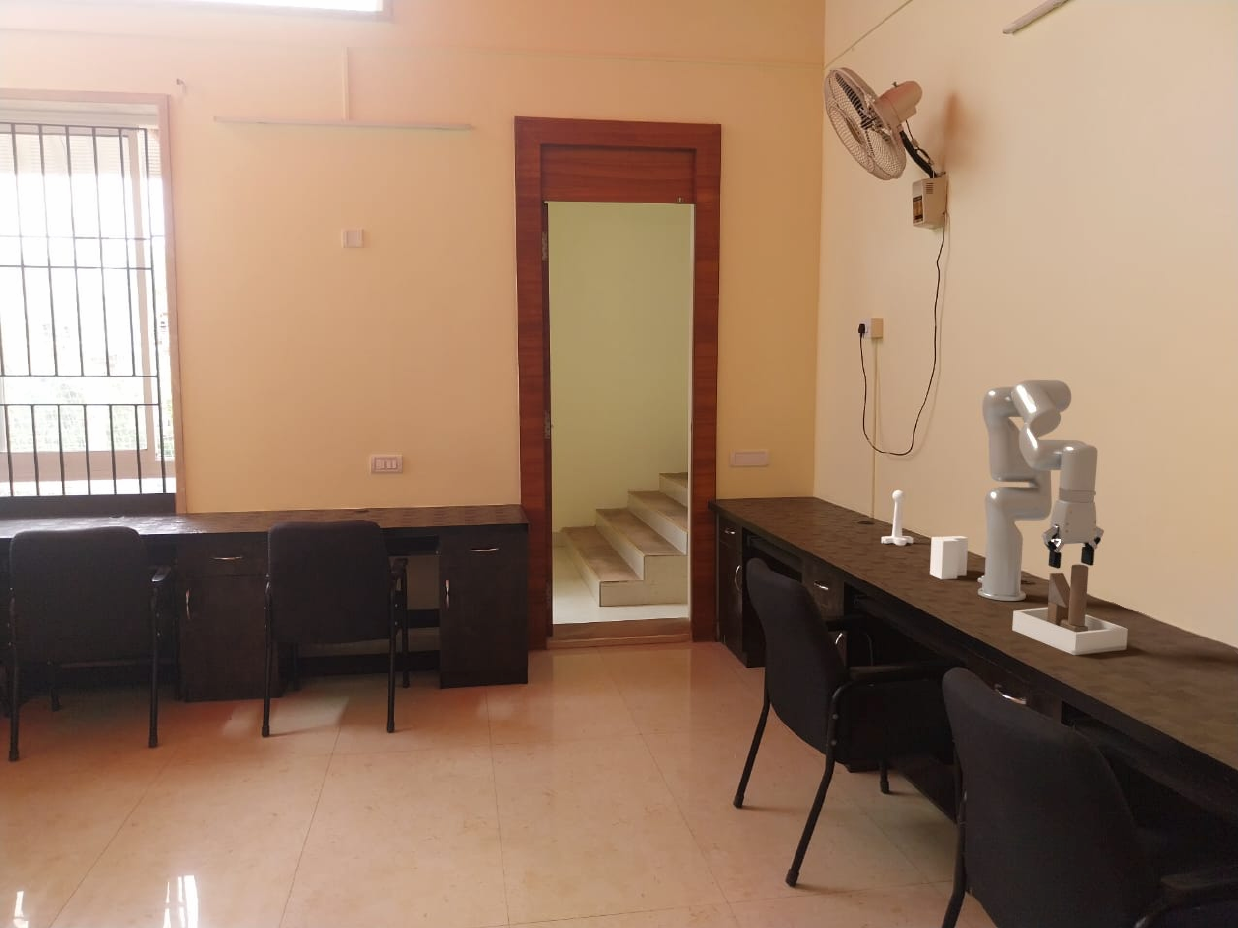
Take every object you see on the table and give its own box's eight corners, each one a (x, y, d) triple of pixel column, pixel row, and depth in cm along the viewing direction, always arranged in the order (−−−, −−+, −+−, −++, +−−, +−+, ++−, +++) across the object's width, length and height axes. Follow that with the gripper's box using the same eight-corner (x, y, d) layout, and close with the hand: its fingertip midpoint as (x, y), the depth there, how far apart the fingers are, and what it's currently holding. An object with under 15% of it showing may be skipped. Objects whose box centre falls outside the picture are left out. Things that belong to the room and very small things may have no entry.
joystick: (908, 541, 330) (910, 489, 328) (917, 545, 323) (919, 492, 320) (880, 542, 329) (882, 489, 327) (887, 546, 322) (889, 492, 319)
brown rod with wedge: (1059, 628, 219) (1063, 557, 217) (1088, 641, 208) (1092, 567, 206) (1045, 628, 218) (1050, 557, 216) (1073, 642, 208) (1078, 567, 206)
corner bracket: (941, 579, 273) (943, 541, 271) (922, 570, 284) (923, 534, 282) (972, 577, 275) (974, 540, 274) (952, 569, 286) (953, 533, 285)
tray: (1012, 630, 221) (1013, 610, 220) (1060, 625, 225) (1061, 606, 224) (1074, 655, 202) (1076, 634, 201) (1126, 649, 206) (1127, 628, 205)
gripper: (1092, 491, 215) (1087, 559, 218) (1034, 495, 210) (1029, 564, 213) (1118, 496, 208) (1112, 567, 211) (1058, 500, 203) (1053, 572, 206)
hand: (1070, 565), depth 212 cm, fingers open, 9 cm apart
